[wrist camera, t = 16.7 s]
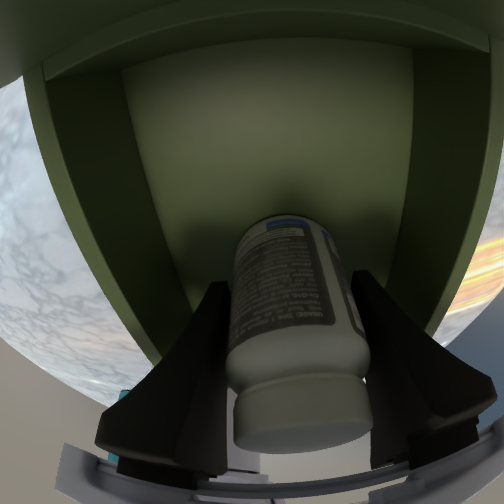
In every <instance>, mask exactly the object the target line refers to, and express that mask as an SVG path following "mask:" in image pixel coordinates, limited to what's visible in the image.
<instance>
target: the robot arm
mask: <svg viewBox="0 0 504 504" xmlns="http://www.w3.org/2000/svg"><path fill="white" fill-rule="evenodd" d="M350 288H351V291H352V293H353V296H354V299H355V303H356V306H357V309H358V312H359V315H360V318H361V322H362V325H363V328H364V331H365V335H366V338H367V341H368V344H369V348H370V357H371V360H370V366H369V369H368V371H367V374H366V375H365V381H366V386H367V391H368V394H369V399H370V405H371V411H372V416H373V427H372V429H371V430H370V431H371V457H370V463H371V469H372V470H373V469H377V468H381V467H384V468H381V469H377V470H373V471H369V472H364V473H359V474H354V475H349V476H343V477H338V478H331V479H324V480H316V481H307V482H295V483H280V484H279V483H276V484H273V483H272V482H270V481H268V475H262V474H260V453H258V452H252V451H247V450H243V449H241V448H239V447H237V446H236V445H235V444H234V441H233V408H234V406H235V404H234V403H235V399H236V398H237V396H238V395H237V394H236V393H235V392H234V391H233V390H232V389H228V382H227V380H226V376H225V365H224V360H225V354H226V344H227V335H228V324H229V313H230V300H231V295H230V291H229V287H228V283H227V281H215V282H211V283H210V285H209V287H208V289H207V291H206V293H205V295H204V296H203V298H202V300H201V302H200V304H199V305H198V307H197V309H196V311H195V312H194V314H193V315H192V317H191V319H190V320H189V322H188V324H187V325H186V327H185V328H184V330H183V331H182V332H181V334H180V335H179V337H178V338H177V340H176V341H175V342H174V344H173V345H172V347H171V348H170V349H169V350H168V352H167V353H166V354H165V355H164V357H163V358H162V359H161V360H160V361H159V362H158V364H157V365H156V366H155V367H154V368H153V369H152V370H151V371H150V372H149V373H148V374H147V376H146V377H145V378H144V379H143V380H141V381H140V382H139V383H138V384H137V385H136V386H135V387H134V388H133V389H132V390H131V391H130V392H128V393H127V394H126V395H125V396H124V397H123V398H121V399H120V400H119V401H117V402H116V403H115V404H114V405H112V406H111V407H110V408H108V409H107V410H106V411H104V412H103V413H102V415H101V418H100V421H99V425H98V429H97V434H96V438H95V444H96V446H98V447H100V448H101V449H103V450H106V451H108V452H110V453H112V454H114V455H116V456H119V459H118V463H115V462H112V461H108V460H105V459H102V458H99V457H97V456H96V455H94V454H91V453H89V452H87V451H84V450H82V449H79V448H77V447H74V446H72V445H69V444H67V443H64V445H63V449H62V453H61V458H60V463H59V467H58V472H57V477H56V483H55V490H56V491H58V492H60V493H62V494H63V495H65V496H67V497H69V498H71V499H73V500H74V501H76V502H78V503H80V504H285V501H284V498H298V497H310V496H319V495H326V494H333V493H339V492H345V491H350V490H355V489H360V488H364V487H369V486H373V485H377V484H381V483H384V482H388V481H392V480H395V479H398V478H401V477H405V476H407V475H409V476H408V477H407V478H406V480H405V482H403V483H399V484H395V485H392V486H388V487H385V488H381V489H378V490H374V491H370V492H369V493H368V495H369V500H368V501H363V502H358V503H352V504H462V503H464V502H465V501H467V500H468V499H470V498H471V497H473V496H474V495H475V494H477V493H478V492H479V491H481V490H482V489H483V488H485V487H486V486H487V485H489V484H490V483H491V482H493V481H494V480H495V479H496V478H498V477H499V476H500V475H501V474H503V473H504V415H503V416H501V417H500V418H498V419H497V420H495V421H494V422H493V423H492V424H490V425H488V426H487V427H485V428H483V429H481V430H479V431H477V428H476V425H477V424H478V423H479V419H478V415H479V414H480V413H482V412H483V411H484V410H486V409H487V408H488V407H490V406H491V405H492V404H493V403H494V402H495V401H496V400H497V397H498V396H497V393H496V390H495V387H494V385H493V382H492V380H491V377H489V376H487V375H485V374H483V373H482V372H480V371H478V370H476V369H474V368H473V367H471V366H469V365H468V364H466V363H465V362H463V361H461V360H460V359H459V358H457V357H456V356H454V355H453V354H451V353H450V352H449V351H448V350H446V349H445V348H444V347H442V346H441V345H440V344H439V343H437V342H436V341H435V340H434V339H432V338H431V337H430V336H429V335H428V334H427V333H426V332H425V331H423V330H422V329H421V328H420V327H419V326H418V325H417V324H416V323H415V322H414V321H413V320H412V319H411V318H410V317H409V316H408V315H407V314H406V313H405V312H404V311H403V310H402V309H401V307H400V306H399V305H398V304H397V303H396V302H395V301H394V300H393V299H392V297H391V296H390V295H389V294H388V293H387V292H386V291H385V289H384V288H383V287H382V286H381V285H380V284H379V283H378V281H377V280H376V279H375V278H374V277H373V276H372V274H371V273H370V272H369V271H368V270H357V271H353V274H352V280H351V286H350ZM392 464H394V465H392ZM389 465H392V466H389ZM385 466H388V467H385Z"/></svg>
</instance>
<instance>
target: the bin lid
mask: <svg viewBox="0 0 504 504" xmlns="http://www.w3.org/2000/svg"><path fill="white" fill-rule="evenodd" d="M176 1H180V0H0V88H2V87H4V86H6V85H8V84H10V83H12V82H14V81H15V80H17V79H18V78H19V77H21V76H22V75H23V74H25V73H26V72H27V71H29V70H30V69H31V68H33V67H34V66H36V65H37V64H39V63H40V62H42V61H43V60H45V59H46V58H48V57H49V56H51V55H53V54H54V53H56V52H57V51H59V50H61V49H62V48H64V47H66V46H68V45H69V44H71V43H73V42H75V41H77V40H79V39H80V38H82V37H84V36H86V35H88V34H90V33H92V32H94V31H96V30H99V29H101V28H103V27H105V26H107V25H110V24H112V23H114V22H117V21H119V20H122V19H124V18H127V17H129V16H132V15H135V14H137V13H140V12H143V11H146V10H149V9H152V8H155V7H158V6H162V5H165V4H168V3H172V2H176ZM403 1H407V2H410V3H414V4H417V5H421V6H424V7H427V8H430V9H433V10H436V11H439V12H441V13H444V14H447V15H449V16H452V17H454V18H457V19H459V20H461V21H464V22H466V23H468V24H470V25H473V26H475V27H477V28H479V29H481V30H483V31H485V32H487V33H489V34H491V35H492V36H494V37H496V38H498V39H500V40H502V41H503V42H504V0H403Z"/></svg>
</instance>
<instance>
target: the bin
mask: <svg viewBox="0 0 504 504" xmlns="http://www.w3.org/2000/svg"><path fill="white" fill-rule="evenodd" d="M23 80H24V86H25V92H26V97H27V102H28V107H29V111H30V116H31V120H32V124H33V128H34V132H35V135H36V139H37V142H38V146H39V149H40V152H41V155H42V159H43V162H44V165H45V168H46V170H47V173H48V176H49V179H50V182H51V184H52V187H53V190H54V192H55V195H56V197H57V200H58V202H59V205H60V207H61V209H62V212H63V214H64V216H65V219H66V221H67V223H68V225H69V228H70V230H71V232H72V234H73V236H74V238H75V240H76V242H77V244H78V246H79V248H80V250H81V252H82V254H83V256H84V258H85V260H86V262H87V264H88V266H89V267H90V269H91V271H92V273H93V275H94V277H95V278H96V280H97V282H98V284H99V285H100V287H101V289H102V290H103V292H104V294H105V296H106V297H107V299H108V300H109V302H110V304H111V305H112V307H113V309H114V310H115V312H116V313H117V315H118V316H119V318H120V319H121V321H122V322H123V324H124V325H125V327H126V328H127V330H128V331H129V333H130V334H131V336H132V337H133V339H134V340H135V341H136V343H137V344H138V346H139V347H140V348H141V350H142V351H143V352H144V354H145V355H146V356H147V358H148V359H149V360H150V362H151V363H152V364H153V366H154V367H155V366H156V365H157V364H158V362H159V361H160V360H161V359H162V358H163V357H164V355H165V354H166V353H167V352H168V350H169V349H170V348H171V347H172V345H173V344H174V342H175V341H176V340H177V338H178V337H179V335H180V334H181V332H182V331H183V330H184V328H185V327H186V325H187V324H188V322H189V320H190V319H191V317H192V315H193V314H194V312H195V311H196V309H197V307H198V305H199V304H200V302H201V300H202V298H203V296H204V295H205V293H206V291H207V289H208V287H209V285H210V283H211V282H215V281H227V283H228V287H229V291H230V295H231V289H232V279H233V268H234V259H235V253H236V249H237V247H238V244H239V242H240V240H241V239H242V237H243V236H244V235H245V233H246V232H247V231H248V230H249V229H250V228H251V227H253V226H254V225H255V224H257V223H259V222H261V221H263V220H266V219H268V218H271V217H275V216H280V215H295V216H300V217H304V218H307V219H310V220H313V221H314V222H316V223H318V224H319V225H321V226H322V227H323V228H324V229H325V230H326V231H327V232H328V233H329V234H330V235H331V237H332V239H333V241H334V243H335V245H336V248H337V251H338V253H339V256H340V258H341V261H342V264H343V267H344V270H345V273H346V276H347V278H348V282H349V284H350V286H351V280H352V274H353V271H357V270H368V271H369V272H370V273H371V274H372V276H373V277H374V278H375V279H376V280H377V281H378V283H379V284H380V285H381V286H382V287H383V288H384V289H385V291H386V292H387V293H388V294H389V295H390V296H391V297H392V299H393V300H394V301H395V302H396V303H397V304H398V305H399V306H400V307H401V309H402V310H403V311H404V312H405V313H406V314H407V315H408V316H409V317H410V318H411V319H412V320H413V321H414V322H415V323H416V324H417V325H418V326H419V327H420V328H421V329H422V330H423V331H425V332H426V333H427V334H428V335H429V336H430V337H431V338H432V337H433V335H434V333H435V332H436V330H437V328H438V327H439V325H440V323H441V321H442V320H443V318H444V316H445V314H446V312H447V310H448V308H449V307H450V305H451V303H452V301H453V299H454V297H455V295H456V293H457V291H458V288H459V286H460V284H461V282H462V280H463V278H464V275H465V273H466V271H467V269H468V266H469V264H470V261H471V259H472V256H473V254H474V251H475V249H476V246H477V243H478V241H479V238H480V235H481V232H482V229H483V226H484V223H485V220H486V217H487V213H488V210H489V207H490V203H491V199H492V196H493V192H494V188H495V183H496V179H497V174H498V169H499V164H500V159H501V153H502V147H503V140H504V42H503V41H502V40H500V39H498V38H496V37H494V36H492V35H491V34H489V33H487V32H485V31H483V30H481V29H479V28H477V27H475V26H473V25H470V24H468V23H466V22H464V21H461V20H459V19H457V18H454V17H452V16H449V15H447V14H444V13H441V12H439V11H436V10H433V9H430V8H427V7H424V6H421V5H417V4H414V3H410V2H407V1H403V0H180V1H176V2H172V3H168V4H165V5H162V6H158V7H155V8H152V9H149V10H146V11H143V12H140V13H137V14H135V15H132V16H129V17H127V18H124V19H122V20H119V21H117V22H114V23H112V24H110V25H107V26H105V27H103V28H101V29H99V30H96V31H94V32H92V33H90V34H88V35H86V36H84V37H82V38H80V39H79V40H77V41H75V42H73V43H71V44H69V45H68V46H66V47H64V48H62V49H61V50H59V51H57V52H56V53H54V54H53V55H51V56H49V57H48V58H46V59H45V60H43V61H42V62H40V63H39V64H37V65H36V66H34V67H33V68H31V69H30V70H29V71H27V72H26V73H25V74H23ZM228 389H231V387H230V386H229V384H228Z"/></svg>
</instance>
